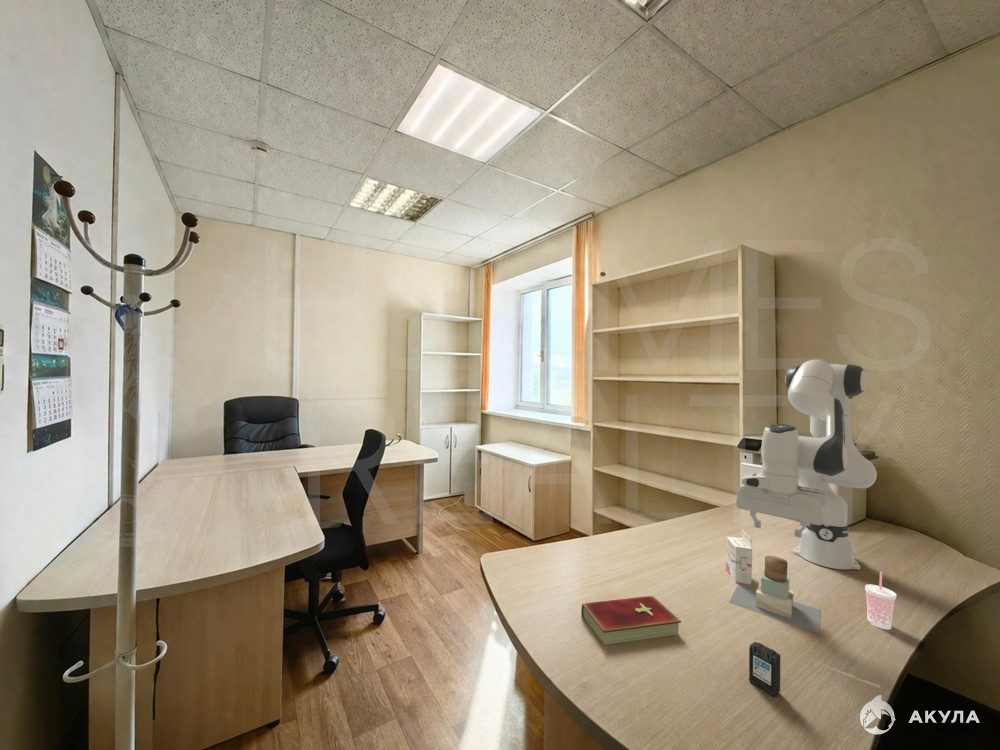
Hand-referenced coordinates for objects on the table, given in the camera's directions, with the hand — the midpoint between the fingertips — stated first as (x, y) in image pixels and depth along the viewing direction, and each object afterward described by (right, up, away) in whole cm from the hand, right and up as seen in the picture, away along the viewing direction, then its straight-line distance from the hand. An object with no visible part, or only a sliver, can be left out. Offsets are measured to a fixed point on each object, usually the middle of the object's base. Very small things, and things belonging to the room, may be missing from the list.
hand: (777, 531), depth 112 cm
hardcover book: (-45, -21, -10) cm, 50 cm away
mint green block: (-1, -17, 0) cm, 17 cm away
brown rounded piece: (0, -13, 0) cm, 13 cm away
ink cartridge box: (-1, -22, +16) cm, 27 cm away
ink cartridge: (-23, -21, -30) cm, 43 cm away
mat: (-1, -21, 0) cm, 21 cm away
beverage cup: (+23, -22, -6) cm, 33 cm away
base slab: (-1, -21, 0) cm, 21 cm away
